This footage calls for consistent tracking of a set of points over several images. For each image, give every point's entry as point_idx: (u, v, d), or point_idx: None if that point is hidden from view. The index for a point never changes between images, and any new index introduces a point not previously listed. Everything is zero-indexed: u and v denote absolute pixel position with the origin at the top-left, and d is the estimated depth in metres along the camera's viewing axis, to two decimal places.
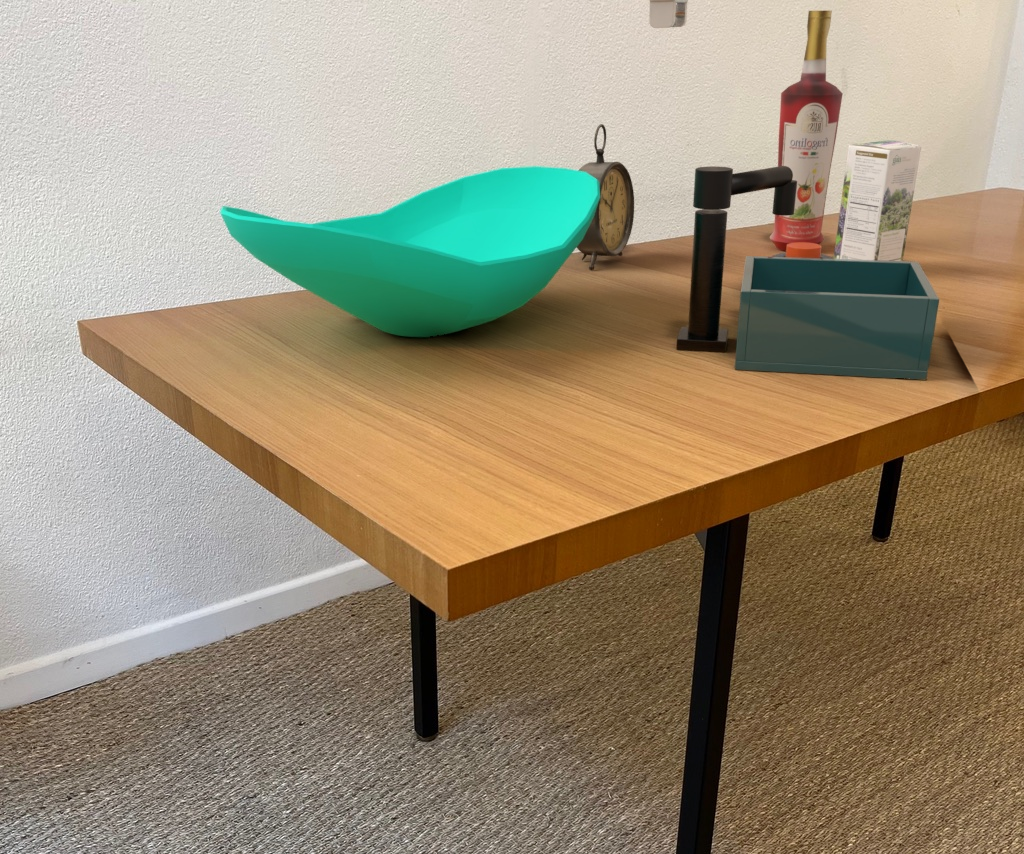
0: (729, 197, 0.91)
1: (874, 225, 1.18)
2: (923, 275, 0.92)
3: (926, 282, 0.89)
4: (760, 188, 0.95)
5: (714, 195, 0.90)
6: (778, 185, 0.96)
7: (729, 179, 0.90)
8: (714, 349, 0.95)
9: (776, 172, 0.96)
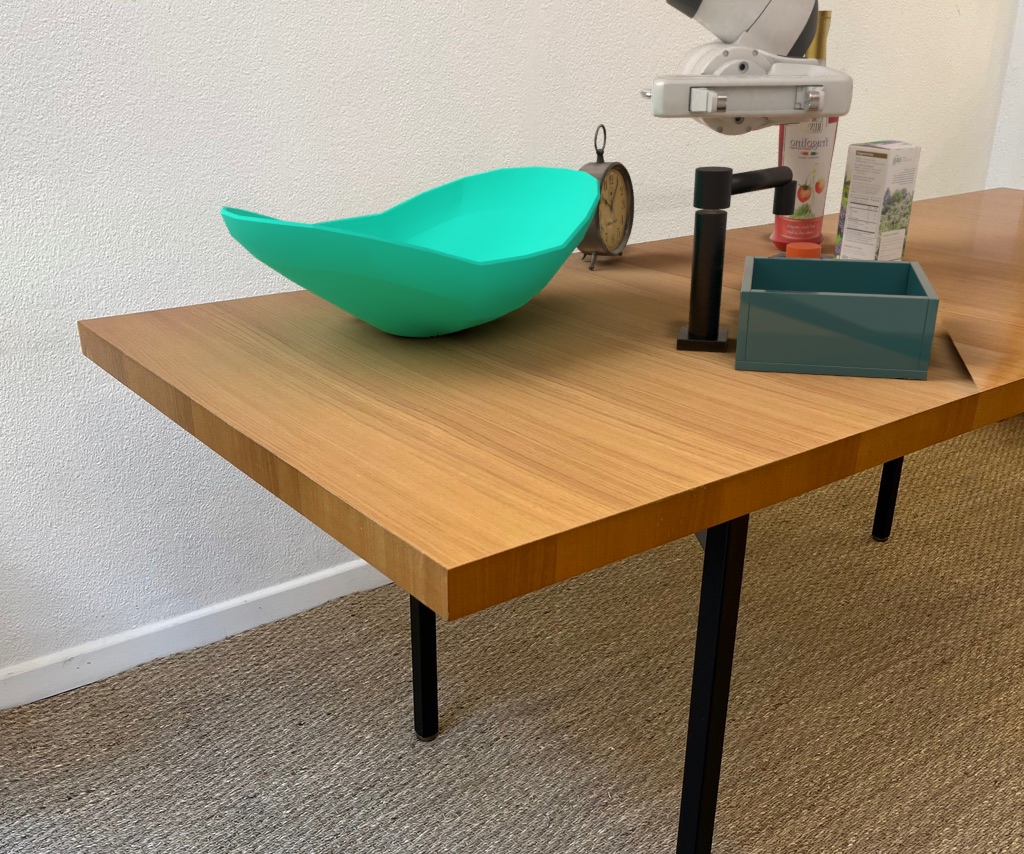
0: (729, 197, 0.91)
1: (874, 225, 1.18)
2: (923, 275, 0.92)
3: (926, 282, 0.89)
4: (760, 188, 0.95)
5: (714, 195, 0.90)
6: (778, 185, 0.96)
7: (729, 179, 0.90)
8: (714, 349, 0.95)
9: (776, 172, 0.96)
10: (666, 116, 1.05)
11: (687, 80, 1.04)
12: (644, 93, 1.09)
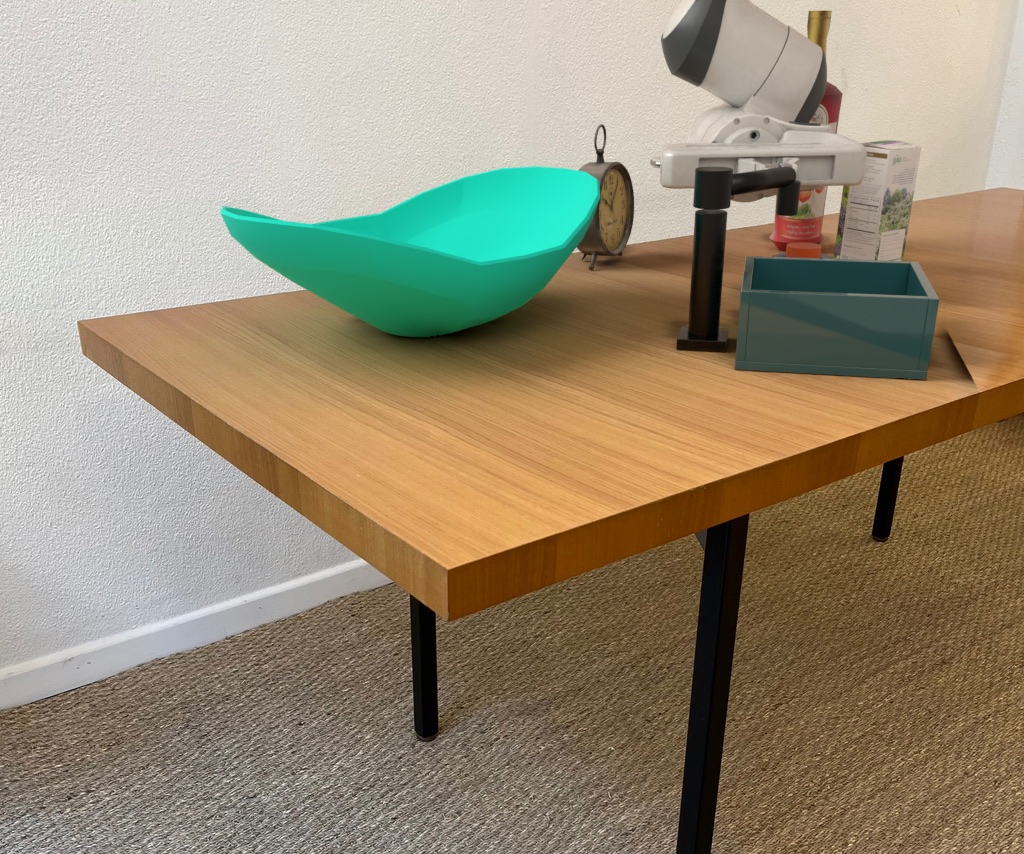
0: (728, 197, 0.91)
1: (874, 225, 1.18)
2: (923, 275, 0.92)
3: (926, 282, 0.89)
4: (762, 188, 0.95)
5: (714, 195, 0.90)
6: (781, 185, 0.96)
7: (729, 179, 0.90)
8: (714, 349, 0.95)
9: (779, 172, 0.95)
10: (675, 187, 1.03)
11: (696, 151, 1.02)
12: (653, 162, 1.07)
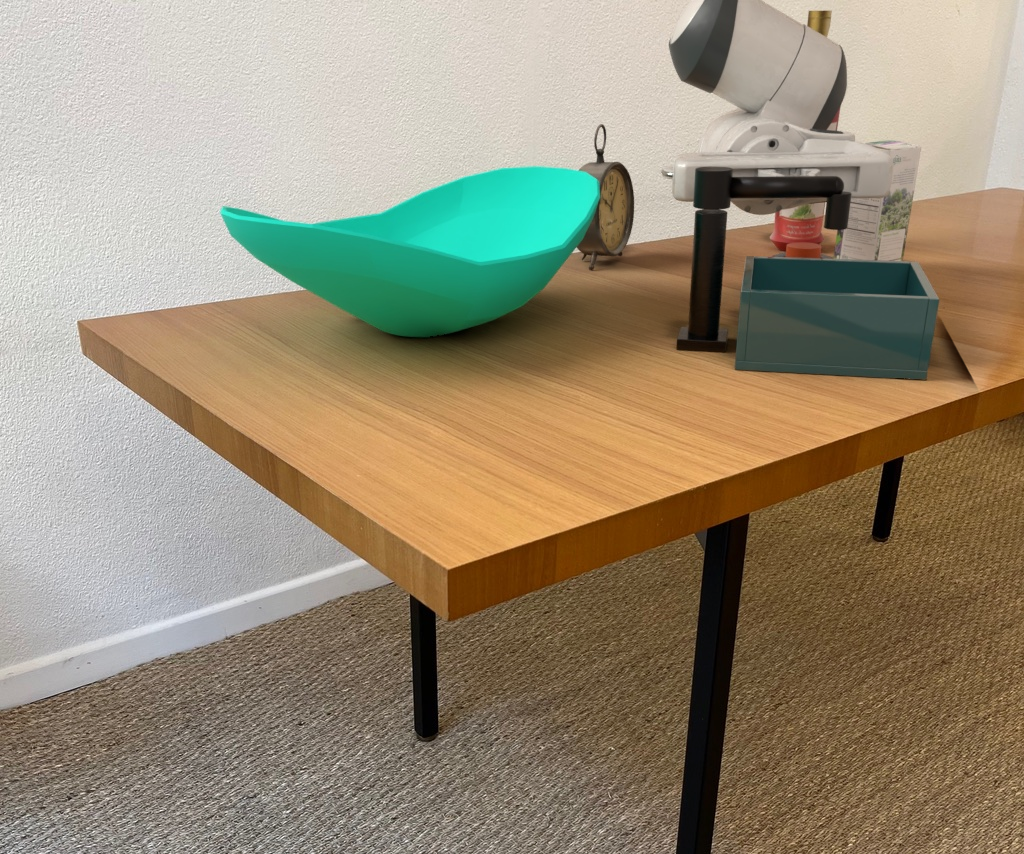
0: (718, 198, 0.90)
1: (874, 225, 1.18)
2: (923, 275, 0.92)
3: (926, 282, 0.89)
4: (784, 195, 0.91)
5: (701, 195, 0.90)
6: (816, 195, 0.91)
7: (718, 180, 0.89)
8: (714, 349, 0.95)
9: (812, 181, 0.90)
10: (689, 200, 0.97)
11: (711, 162, 0.96)
12: (665, 173, 1.01)
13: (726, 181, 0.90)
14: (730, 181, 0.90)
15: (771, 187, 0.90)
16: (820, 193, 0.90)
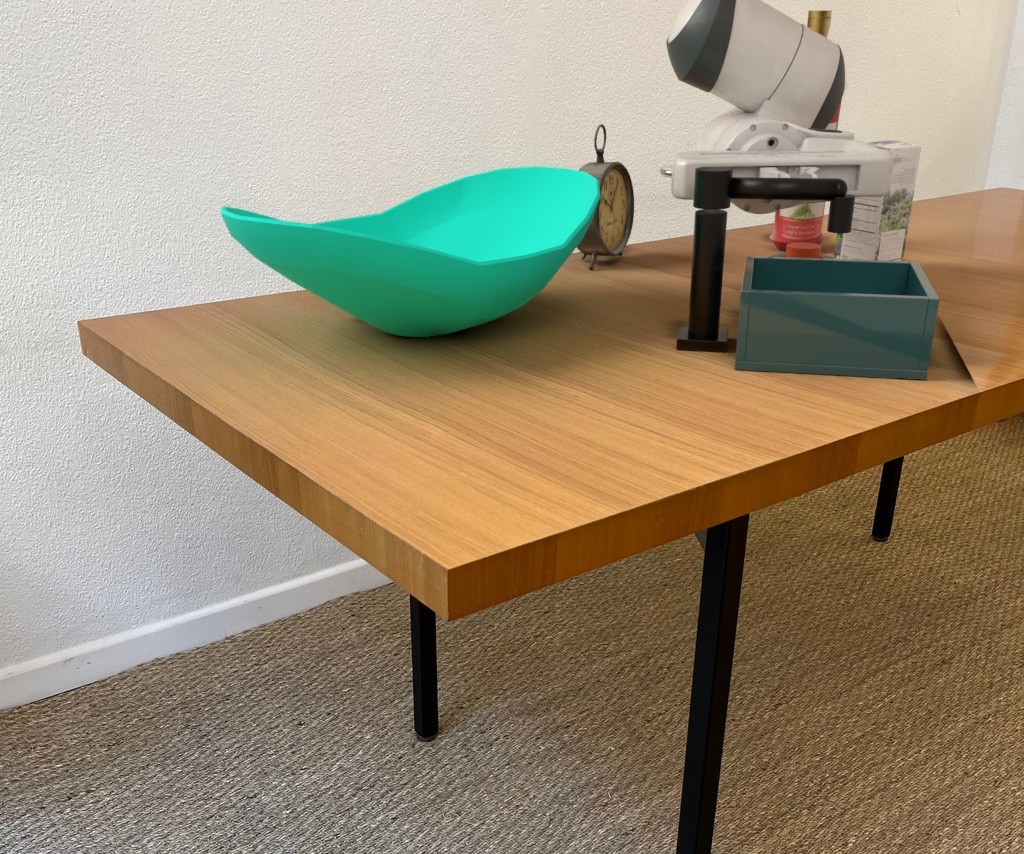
0: (716, 199, 0.90)
1: (874, 225, 1.18)
2: (923, 275, 0.92)
3: (926, 282, 0.89)
4: (784, 197, 0.90)
5: (699, 194, 0.91)
6: (818, 198, 0.89)
7: (715, 180, 0.89)
8: (714, 349, 0.95)
9: (813, 183, 0.89)
10: (688, 198, 0.96)
11: (711, 160, 0.95)
12: (664, 171, 1.00)
13: (724, 181, 0.90)
14: (729, 181, 0.90)
15: (771, 188, 0.90)
16: (821, 195, 0.89)
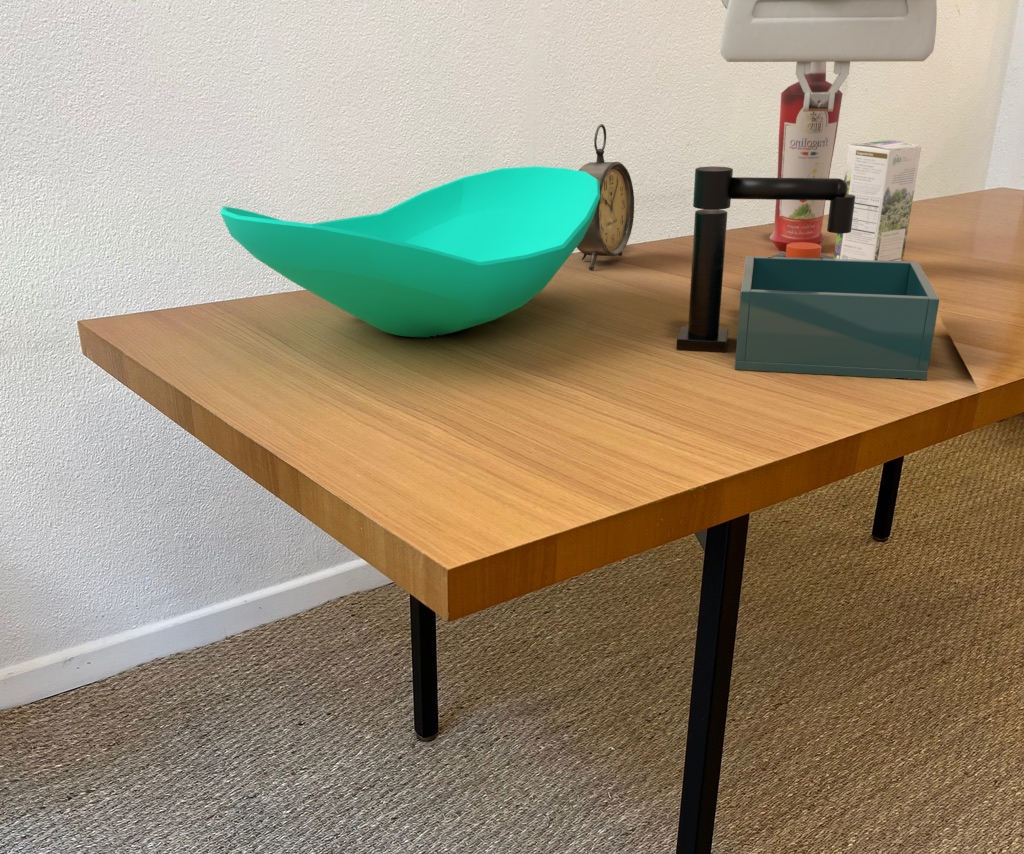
0: (716, 199, 0.90)
1: (874, 225, 1.18)
2: (923, 275, 0.92)
3: (926, 282, 0.89)
4: (784, 197, 0.90)
5: (699, 194, 0.91)
6: (818, 198, 0.89)
7: (715, 180, 0.89)
8: (714, 349, 0.95)
9: (813, 183, 0.89)
10: None
11: (751, 59, 1.04)
12: (722, 0, 1.04)
13: (724, 181, 0.90)
14: (729, 181, 0.90)
15: (771, 188, 0.90)
16: (821, 195, 0.89)
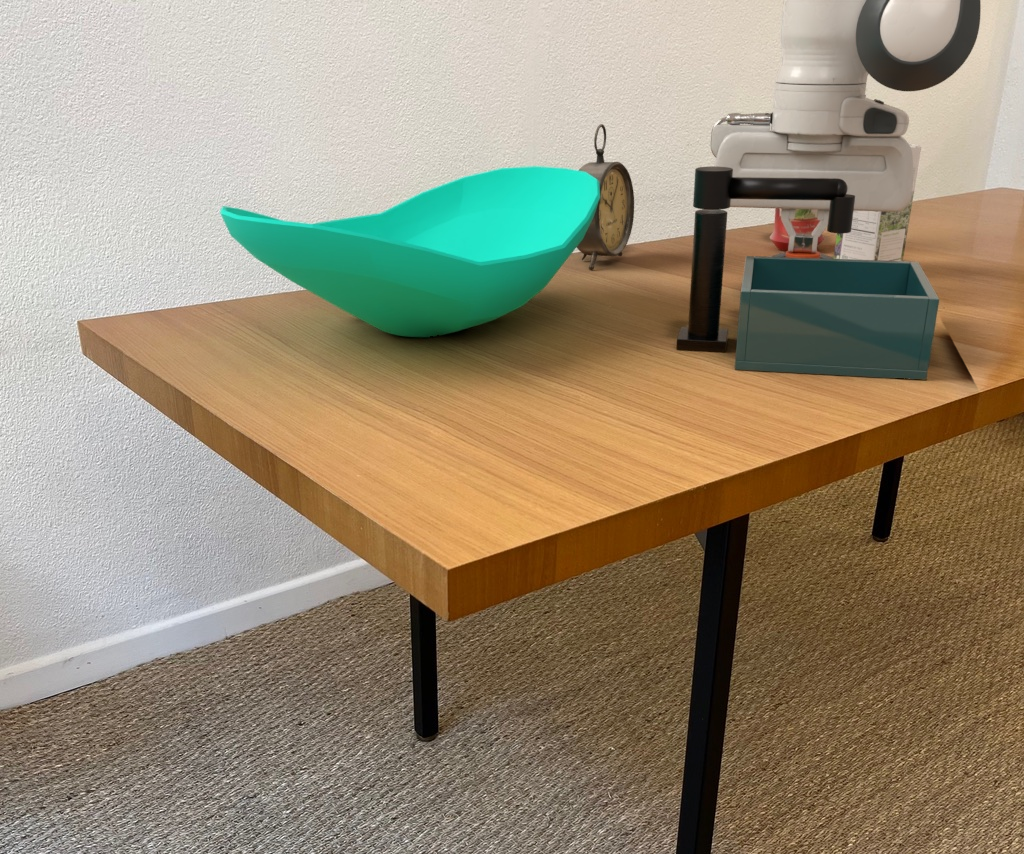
0: (716, 199, 0.90)
1: (874, 225, 1.18)
2: (923, 275, 0.92)
3: (926, 282, 0.89)
4: (784, 197, 0.90)
5: (699, 194, 0.91)
6: (818, 198, 0.89)
7: (715, 180, 0.89)
8: (714, 349, 0.95)
9: (813, 183, 0.89)
10: None
11: (739, 205, 1.10)
12: (711, 149, 1.10)
13: (724, 181, 0.90)
14: (729, 181, 0.90)
15: (771, 188, 0.90)
16: (821, 195, 0.89)
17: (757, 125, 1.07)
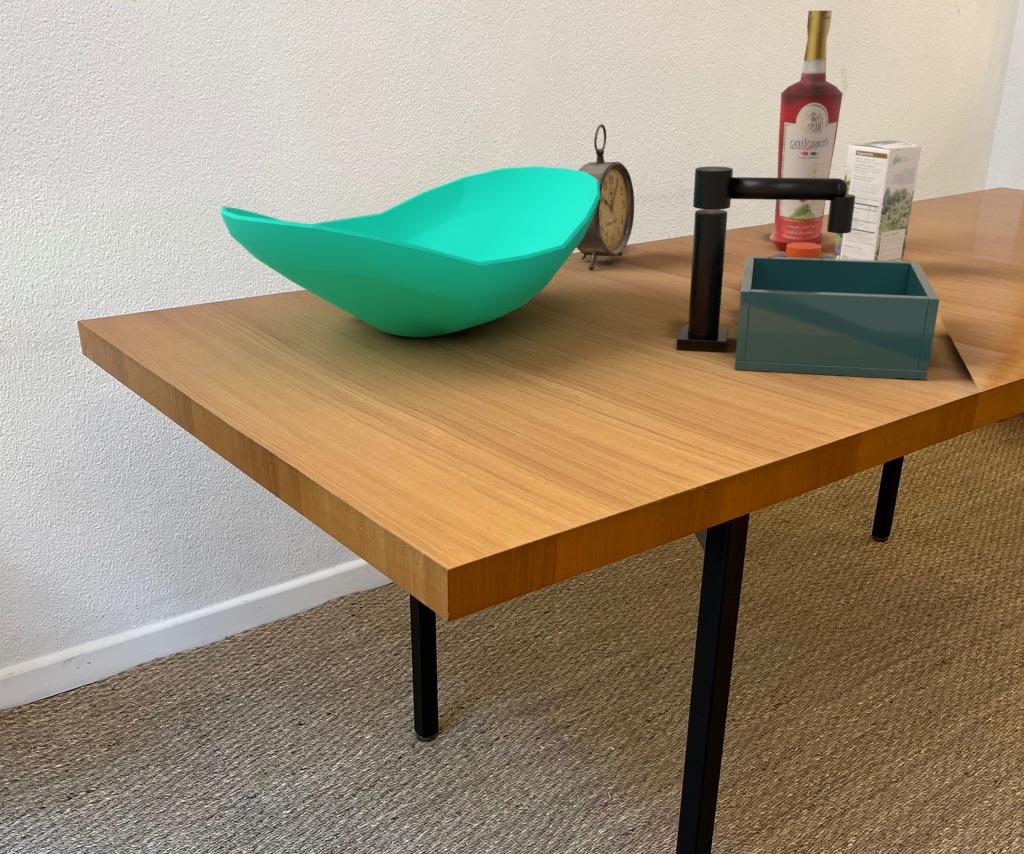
0: (716, 199, 0.90)
1: (874, 225, 1.18)
2: (923, 275, 0.92)
3: (926, 282, 0.89)
4: (784, 197, 0.90)
5: (699, 194, 0.91)
6: (818, 198, 0.89)
7: (715, 180, 0.89)
8: (714, 349, 0.95)
9: (813, 183, 0.89)
10: None
11: None
12: None
13: (724, 181, 0.90)
14: (729, 181, 0.90)
15: (771, 188, 0.90)
16: (821, 195, 0.89)
17: None
